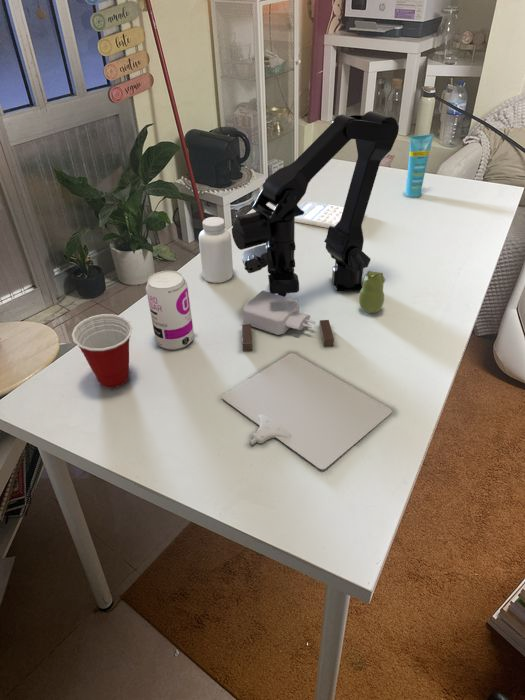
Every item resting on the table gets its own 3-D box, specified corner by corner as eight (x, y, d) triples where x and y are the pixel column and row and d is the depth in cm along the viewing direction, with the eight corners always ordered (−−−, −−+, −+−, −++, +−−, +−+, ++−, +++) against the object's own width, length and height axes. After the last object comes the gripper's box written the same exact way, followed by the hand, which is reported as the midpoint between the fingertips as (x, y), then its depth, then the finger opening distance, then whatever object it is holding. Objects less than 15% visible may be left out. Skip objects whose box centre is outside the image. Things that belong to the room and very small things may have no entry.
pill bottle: (229, 284, 132) (225, 228, 123) (198, 282, 134) (192, 226, 125) (237, 269, 138) (233, 215, 129) (207, 267, 140) (201, 213, 131)
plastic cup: (115, 404, 99) (101, 354, 91) (74, 385, 103) (58, 335, 96) (154, 372, 106) (144, 323, 99) (114, 355, 111) (102, 307, 103)
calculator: (349, 232, 154) (350, 226, 153) (288, 221, 162) (287, 215, 160) (365, 215, 163) (365, 209, 162) (306, 205, 171) (306, 199, 170)
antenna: (204, 409, 97) (203, 405, 96) (291, 354, 110) (292, 350, 109) (305, 487, 82) (306, 482, 82) (393, 413, 95) (394, 408, 95)
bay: (328, 327, 116) (328, 319, 115) (333, 346, 111) (333, 338, 110) (242, 332, 116) (241, 324, 115) (242, 351, 110) (242, 343, 109)
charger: (302, 345, 111) (243, 325, 118) (322, 323, 118) (264, 305, 124) (303, 327, 109) (242, 307, 115) (323, 305, 115) (264, 288, 121)
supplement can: (200, 332, 116) (192, 272, 107) (183, 354, 110) (174, 292, 101) (167, 326, 119) (157, 266, 109) (149, 347, 112) (137, 286, 103)
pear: (355, 314, 120) (359, 276, 114) (360, 302, 124) (364, 264, 118) (380, 319, 118) (385, 280, 112) (384, 306, 122) (389, 268, 116)
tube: (405, 199, 173) (414, 137, 161) (399, 193, 176) (407, 133, 165) (426, 196, 174) (436, 135, 162) (419, 191, 178) (429, 131, 166)
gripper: (242, 220, 120) (245, 279, 130) (244, 259, 105) (247, 323, 115) (291, 217, 120) (291, 277, 130) (300, 257, 105) (298, 321, 115)
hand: (281, 298), depth 122 cm, fingers closed
